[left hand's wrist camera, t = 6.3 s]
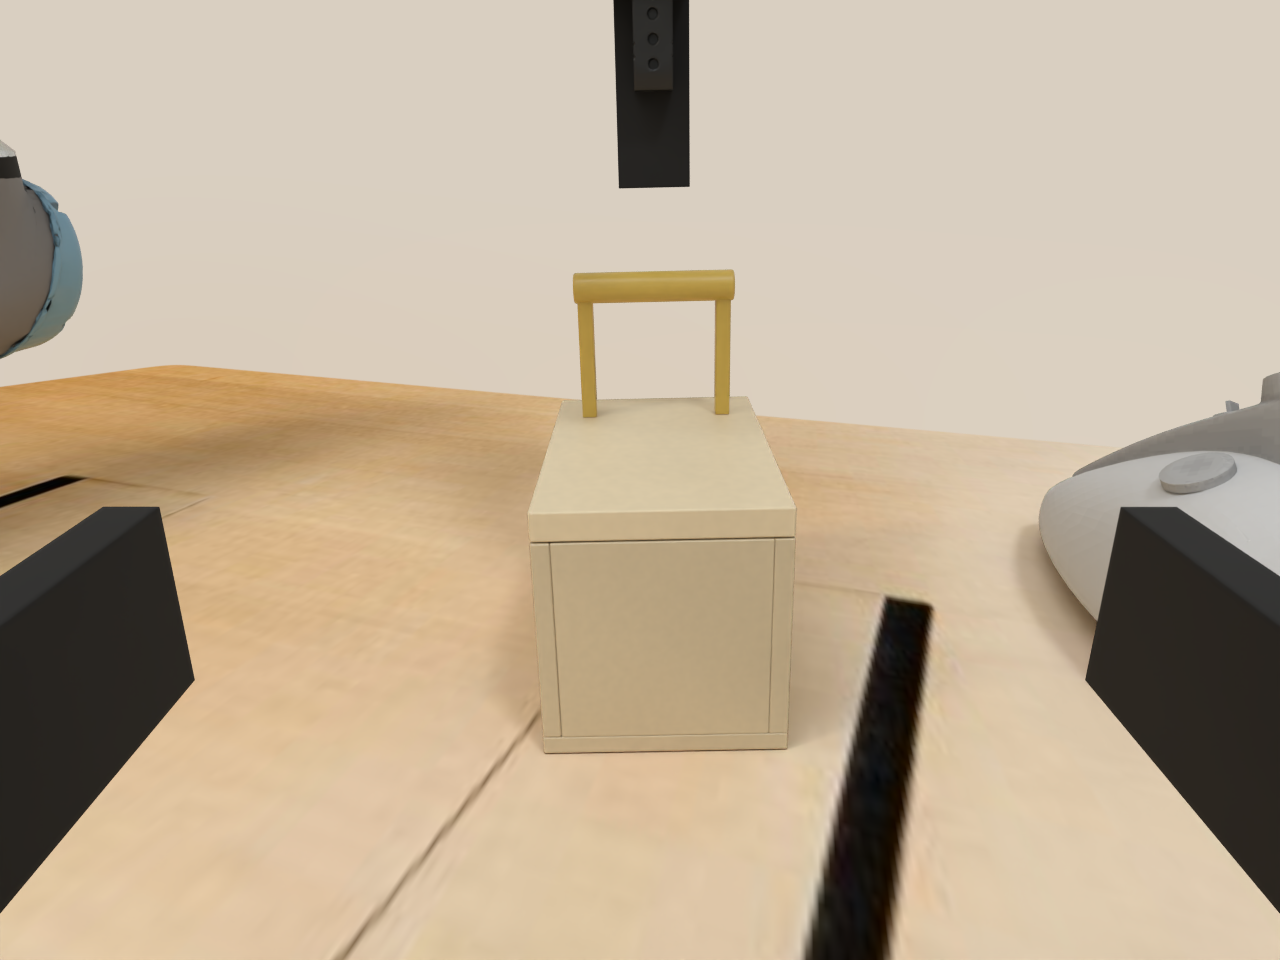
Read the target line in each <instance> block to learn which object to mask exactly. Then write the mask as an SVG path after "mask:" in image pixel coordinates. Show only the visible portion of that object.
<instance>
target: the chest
mask: <svg viewBox="0 0 1280 960" xmlns="http://www.w3.org/2000/svg"><path fill="white" fill-rule="evenodd" d="M795 544H796V539H795V537H753V538H705V539H657V540H609V541H560V542H530V545H529V548H530V562H531V576H532V590H533V604H534V618H535V632H536V646H537V660H538V674H539V688H540V702H541V716H542V730H543V745H544V753H579V752H632V751H685V750H738V749H786V748H787V738H788V733H787V732H788V715H789V690H790V666H791V642H792V617H793V593H794V569H795Z"/></svg>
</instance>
